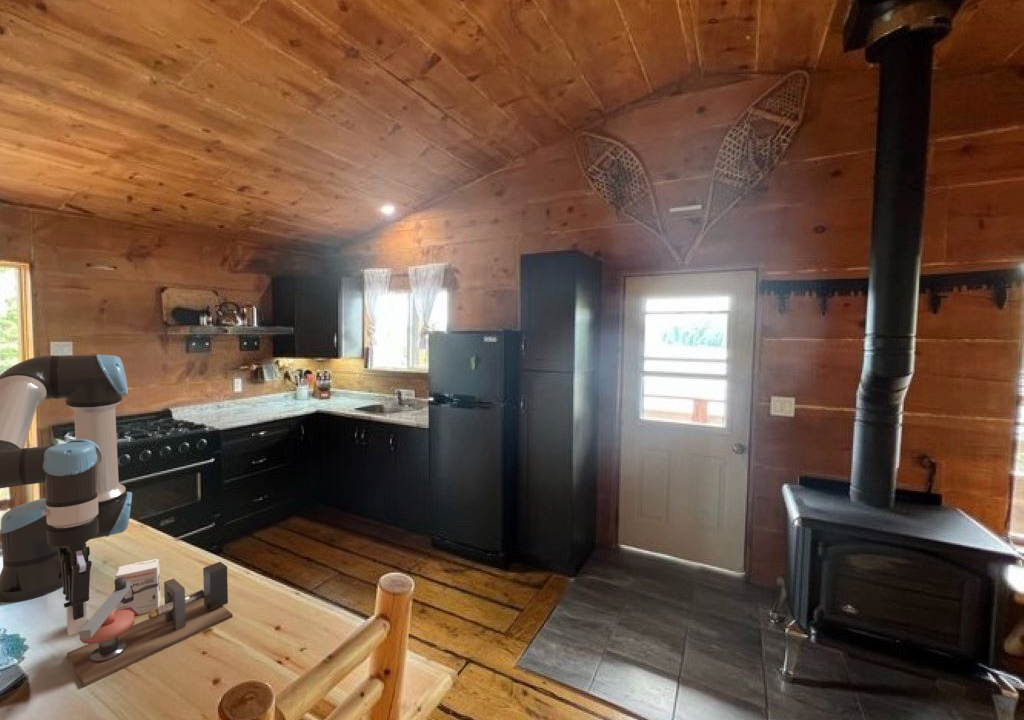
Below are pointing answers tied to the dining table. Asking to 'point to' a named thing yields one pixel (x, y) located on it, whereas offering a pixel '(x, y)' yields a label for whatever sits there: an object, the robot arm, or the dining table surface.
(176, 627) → the eye
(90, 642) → the handwheel
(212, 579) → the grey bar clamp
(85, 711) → the dining table surface
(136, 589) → the ink box
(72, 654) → the board
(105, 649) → the axle post
